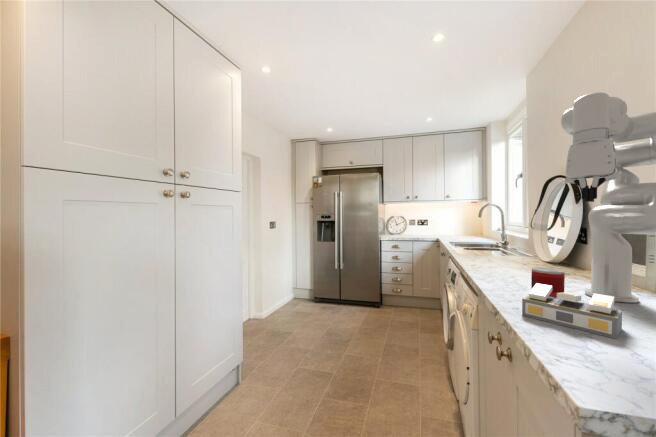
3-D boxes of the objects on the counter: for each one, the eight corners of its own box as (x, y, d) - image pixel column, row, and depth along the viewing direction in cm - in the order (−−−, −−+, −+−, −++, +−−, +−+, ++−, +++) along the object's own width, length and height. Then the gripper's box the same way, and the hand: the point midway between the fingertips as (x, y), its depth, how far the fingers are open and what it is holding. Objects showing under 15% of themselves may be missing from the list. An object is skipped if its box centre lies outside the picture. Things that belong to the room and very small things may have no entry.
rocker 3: (594, 298, 69) (593, 292, 68) (614, 301, 66) (614, 296, 65) (588, 309, 64) (588, 303, 64) (610, 313, 62) (610, 307, 61)
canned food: (570, 309, 79) (570, 272, 79) (539, 307, 81) (540, 271, 81) (554, 301, 87) (554, 267, 86) (526, 299, 88) (526, 266, 88)
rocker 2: (563, 297, 73) (563, 291, 73) (581, 300, 70) (581, 295, 70) (556, 298, 69) (556, 292, 69) (575, 302, 66) (575, 295, 66)
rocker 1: (536, 287, 78) (536, 282, 78) (552, 290, 75) (552, 285, 75) (529, 297, 74) (528, 292, 74) (545, 301, 71) (545, 295, 71)
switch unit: (532, 308, 80) (532, 292, 80) (621, 328, 65) (622, 309, 65) (521, 315, 74) (521, 298, 74) (616, 339, 60) (617, 318, 60)
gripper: (630, 134, 74) (629, 201, 74) (560, 146, 86) (559, 203, 86) (627, 129, 69) (626, 199, 69) (553, 142, 81) (553, 202, 81)
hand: (589, 201), depth 77 cm, fingers closed
